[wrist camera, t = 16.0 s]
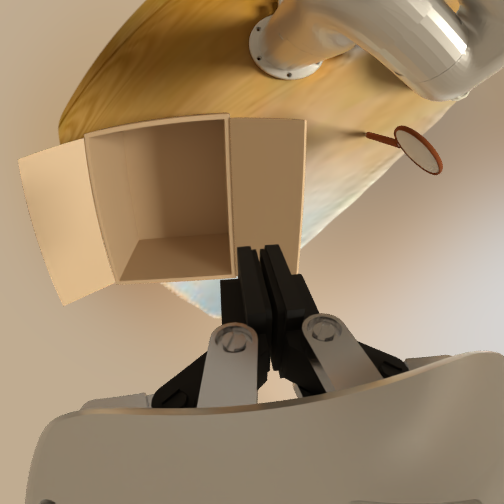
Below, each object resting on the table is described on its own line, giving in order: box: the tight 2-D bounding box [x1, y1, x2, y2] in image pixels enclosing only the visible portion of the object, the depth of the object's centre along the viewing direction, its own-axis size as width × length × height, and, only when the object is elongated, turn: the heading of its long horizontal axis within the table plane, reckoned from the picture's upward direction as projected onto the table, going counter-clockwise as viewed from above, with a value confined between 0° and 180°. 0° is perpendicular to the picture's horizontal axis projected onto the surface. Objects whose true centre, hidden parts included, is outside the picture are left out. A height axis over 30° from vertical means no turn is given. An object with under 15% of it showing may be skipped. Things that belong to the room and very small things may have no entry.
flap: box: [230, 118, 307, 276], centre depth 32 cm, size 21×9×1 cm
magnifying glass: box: [365, 126, 443, 175], centre depth 36 cm, size 9×2×20 cm, turn 49°
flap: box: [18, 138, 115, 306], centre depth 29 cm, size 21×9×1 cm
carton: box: [84, 113, 236, 285], centre depth 39 cm, size 22×18×14 cm
